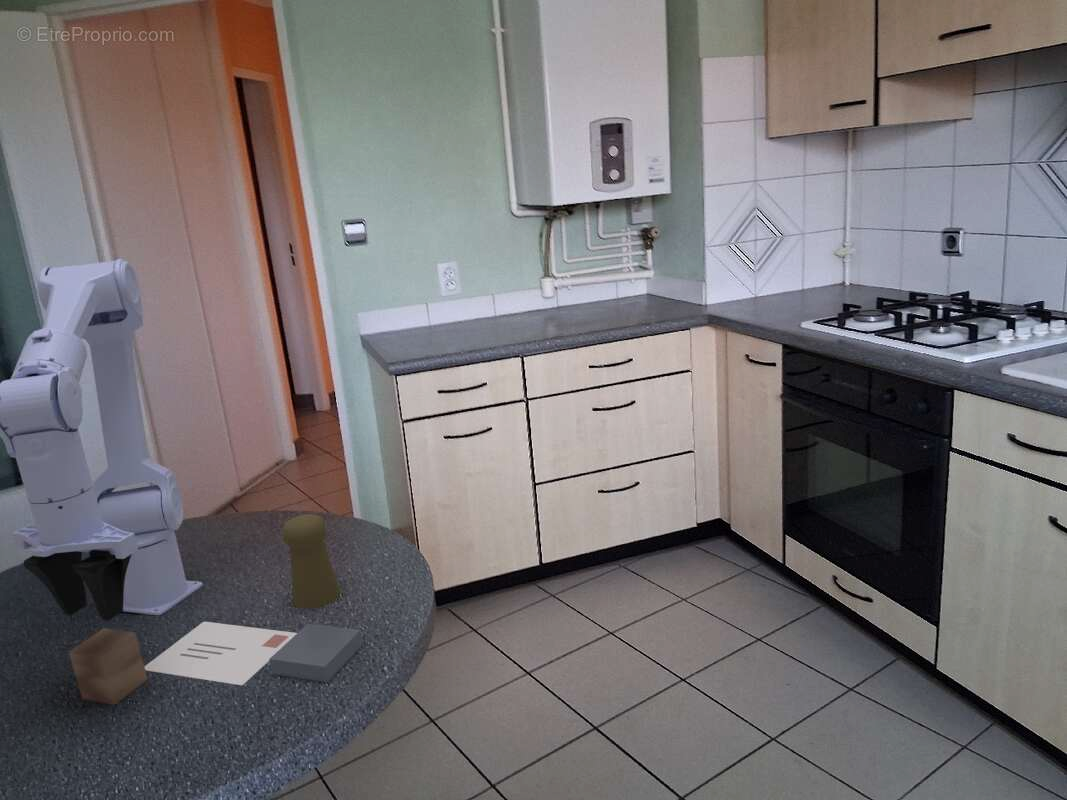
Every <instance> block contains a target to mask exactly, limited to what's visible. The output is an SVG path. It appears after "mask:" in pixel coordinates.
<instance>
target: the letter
mask: <svg viewBox="0 0 1067 800" xmlns="http://www.w3.org/2000/svg"><path fill="white" fill-rule="evenodd" d="M297 633H298V632H291V631H283V630H275V629H268V628H261V627H259V628H258V627H252V626H251V627H250V626H245V625H244V626H243V625H235V624H227V623H219V622H211V621H203V622H201V623H200V624H198V626H196V627H195V628H193V629H192V630H191V631H189V632H188V633H187V634H185V635H184V636H183V637H181V638H180V639H179V640H177V641H176V642H175V643H173V644H172V645H171V646H170V647H168V648H166V649H165V651H163V652H161V653H160V654H159V655H158V656H156V657H155V658H154V659H152V660H151V661H150V662H148V663H147V664H146V665H144V667H145V671H146V672H153V673H159V674H167V675H173V676H178V677H184V678H190V679H191V678H192V679H199V680H205V681H211V682H216V683H217V682H218V683H224V684H230V685H237V686H244V684H246V683H247V682H248V681H249V680H250V679H251V678H252V677H254V676H255V675H256V673H258V672H259V671H260V670H261V669H262V668H263V667H264V666H265V665H267V664H268V663H270V660H269V659H270V658H271V657H272V656H273V655H274V654H275V653H276V652H277V651H279V650H280V649H281V648H282V647H283V646H284V645H285V644H286V643H287V642H288V641H289V640H291V639H292V638H293V637H294V636H295V635H296V634H297Z"/></svg>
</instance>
